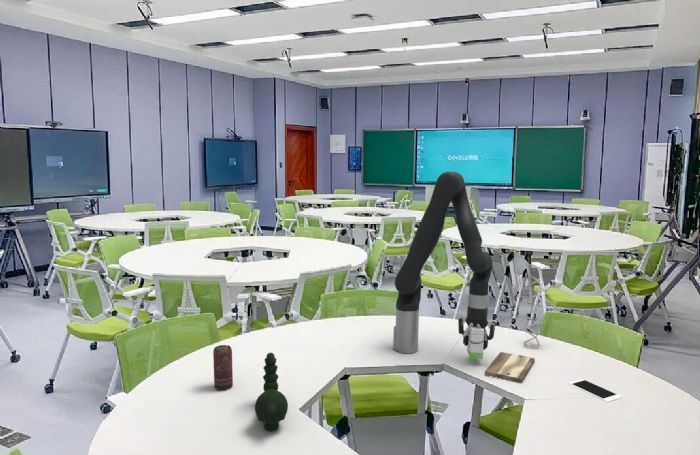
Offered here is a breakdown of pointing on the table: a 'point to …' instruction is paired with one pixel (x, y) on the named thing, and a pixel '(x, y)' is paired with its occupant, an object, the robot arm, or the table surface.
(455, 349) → the table surface
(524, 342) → the dna model
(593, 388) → the cell phone
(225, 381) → the can
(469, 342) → the ink box
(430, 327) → the table surface
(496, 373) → the floorboard
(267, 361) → the dark green knobbed piece
